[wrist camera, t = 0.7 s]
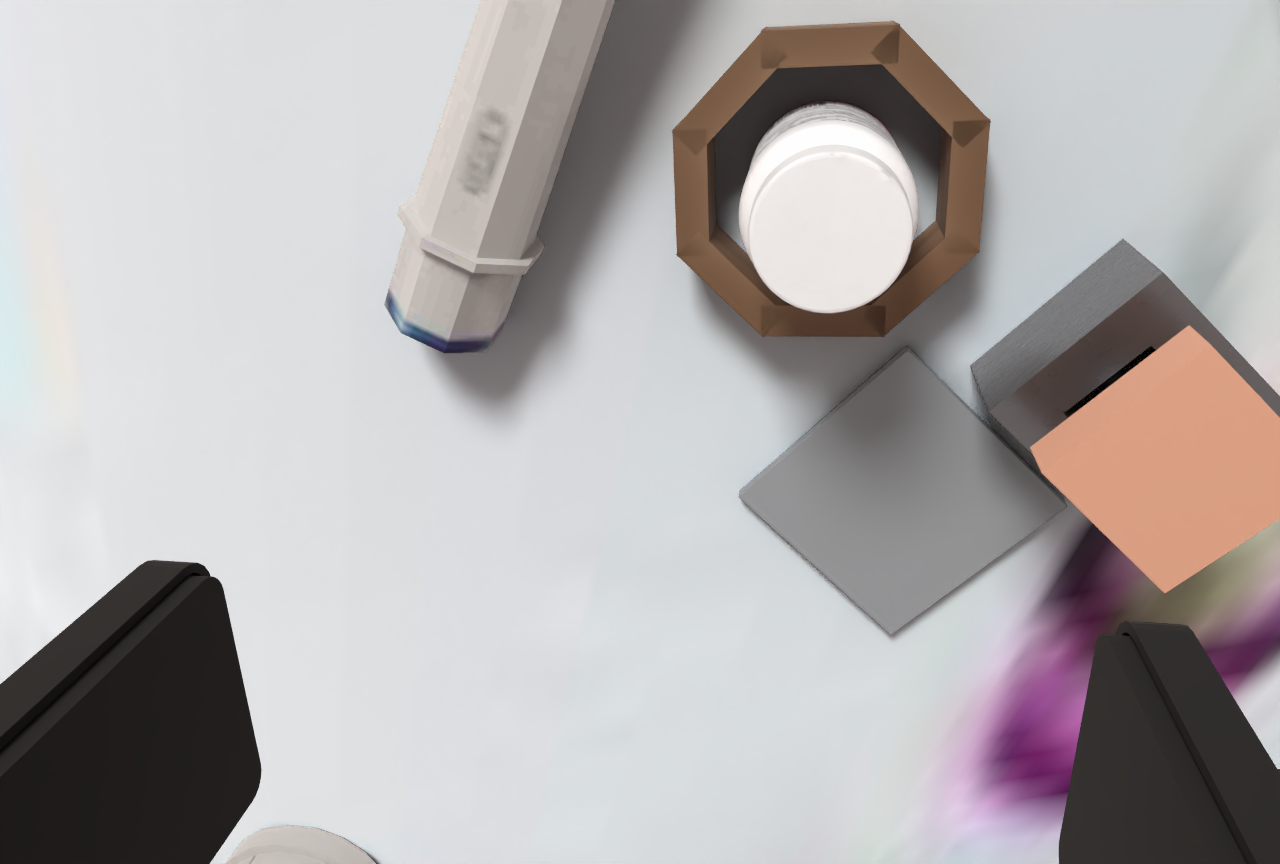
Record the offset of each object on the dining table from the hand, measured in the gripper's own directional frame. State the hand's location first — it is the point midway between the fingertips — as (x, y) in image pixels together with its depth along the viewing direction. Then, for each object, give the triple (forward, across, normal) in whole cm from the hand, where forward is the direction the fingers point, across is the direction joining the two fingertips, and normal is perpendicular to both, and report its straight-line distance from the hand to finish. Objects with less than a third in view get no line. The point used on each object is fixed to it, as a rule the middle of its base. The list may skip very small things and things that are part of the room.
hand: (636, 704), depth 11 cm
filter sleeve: (+24, -2, -2) cm, 25 cm away
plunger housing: (+24, -12, +4) cm, 28 cm away
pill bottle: (+25, -2, -2) cm, 25 cm away
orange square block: (+21, -12, +4) cm, 25 cm away
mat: (+25, -6, +10) cm, 27 cm away
